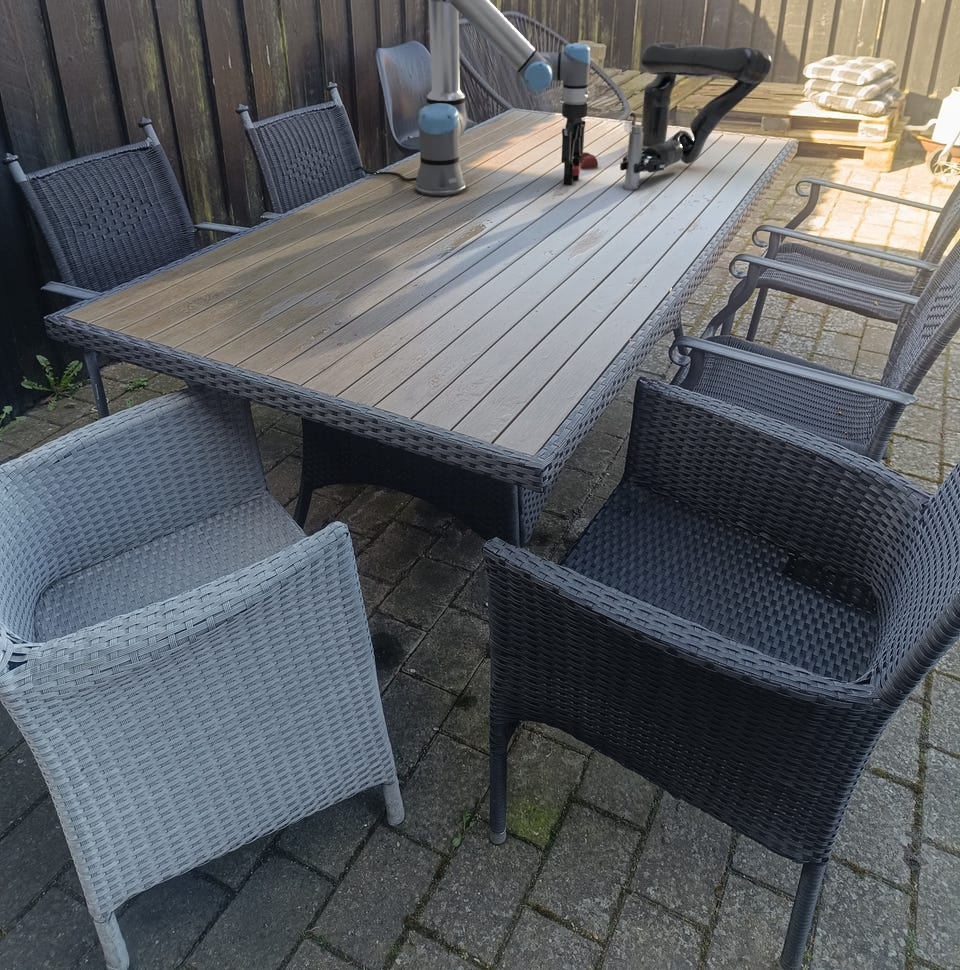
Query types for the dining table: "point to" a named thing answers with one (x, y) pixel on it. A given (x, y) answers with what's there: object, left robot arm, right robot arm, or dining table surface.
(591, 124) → the dining table surface
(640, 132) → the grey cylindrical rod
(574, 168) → the lid
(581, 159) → the dental model
